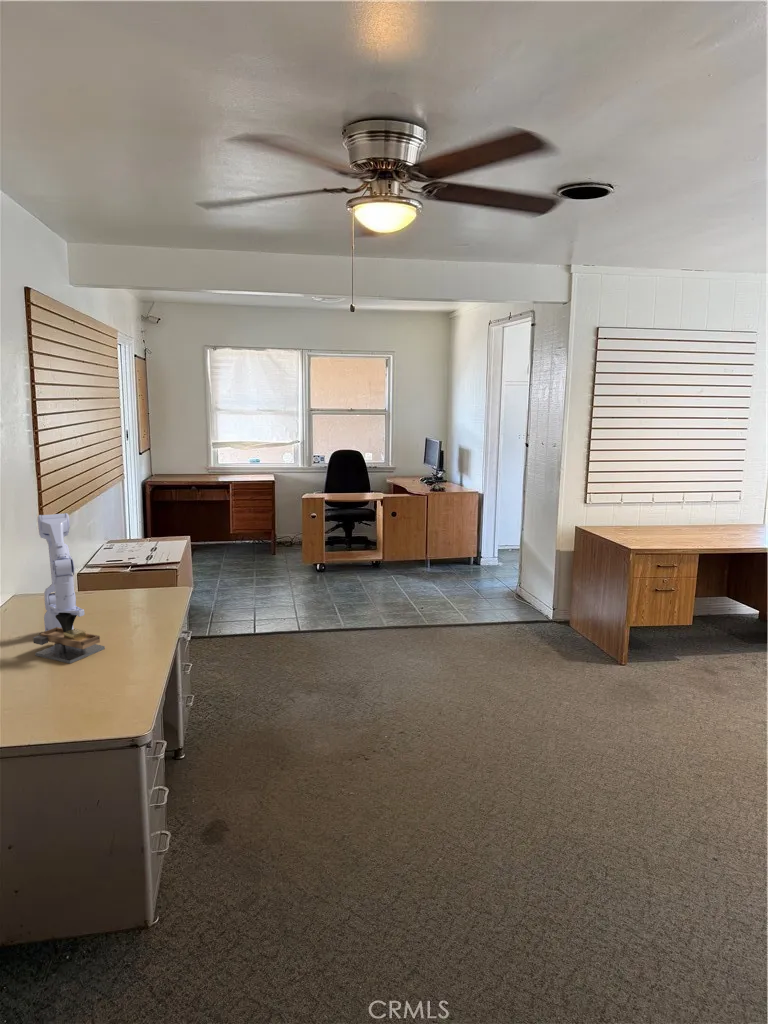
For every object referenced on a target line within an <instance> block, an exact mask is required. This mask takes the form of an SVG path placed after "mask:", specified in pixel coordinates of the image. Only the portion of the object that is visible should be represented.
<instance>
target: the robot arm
mask: <svg viewBox="0 0 768 1024" xmlns="http://www.w3.org/2000/svg"><path fill="white" fill-rule="evenodd" d="M37 525H38V526H37V527H38V533H39V537H40V538H41V539H45V541H46V542H47V546H48V555H49V556H48V557H49V565H50V576H51V584H50V585H49V586H47V588H45V590H44V606H45V607H44V608H45V611H46V612H45V613H44V616H43V621H44V623H43V624H44V632H45V631H48V630H50V629H53V628H56V627H59V628H61V627H62V629H63V632H67V631H70V630H72V629H75V628H74V622H75V620H76V618H77V617H83V616H85V609H83V608H81V607H79V606H77V598H76V592H75V584H74V576H75V571H76V570H75V561H74V560H73V558H72V556H71V553H70V549H69V547H70V546H69V545H68V544H67V543H65V540H64V539H65V537H66V536H68V535H69V533H70V528H71V525H70V516H69V513H67V512H64V513H55V514H53V513H52V514H39V515H38V516H37Z"/></svg>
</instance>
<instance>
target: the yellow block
mask: <svg viewBox="0 0 768 1024" xmlns="http://www.w3.org/2000/svg"><path fill="white" fill-rule="evenodd" d="M85 633H86V631H85V630H83V629H78V628H74V629H72V630H70V631H67V632H64V638H67V639H72V640H76V641H79V640H82V639H85V638H86V634H85Z"/></svg>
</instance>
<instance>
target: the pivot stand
mask: <svg viewBox="0 0 768 1024" xmlns="http://www.w3.org/2000/svg"><path fill="white" fill-rule="evenodd" d="M105 647H106V646H105V645H101V644H98V643H97V644H94V645H92V646H90V647H87V648H85V649H80V648H75V647H71V646H66V645H62V644H60V643H54V645H52V646H50V647H49V646H48V648H47V647H46V648H44V649H42V650H41V649H40V650H39V651H35V656H36V657H38V658H39V657H41V658H44V659H49V660H53V661H57V662H62V663H65V664H66V663H67V664H73V663H75V662H77V661H79V660H82V659H84V658H87V657H89V656H91V655H94V654H96V653H99V652H100V651H103V650H105Z"/></svg>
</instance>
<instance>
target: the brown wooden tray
mask: <svg viewBox="0 0 768 1024" xmlns="http://www.w3.org/2000/svg"><path fill="white" fill-rule="evenodd" d="M85 634H86V638H85V639H82V640H79V641H76V640H72V639H67V638H64V632H63V629H62V627H61V628H59V627H56V628H53V629H50V630H48V631H45V630H44V631H43V632H42V631H41V632H40V633H39V635H36V636H34V637H32V641H33V644H36V645H41V646H43V645H45V644H49V643H54V644H55V643H60V644H62V645H66V646H71V647H75V648H80V649H85V648H87V647H90V646H92V645H94V644H97V645H98V644H99V643H101V637H100V635H97V634H93V633H87V632H85Z"/></svg>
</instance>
